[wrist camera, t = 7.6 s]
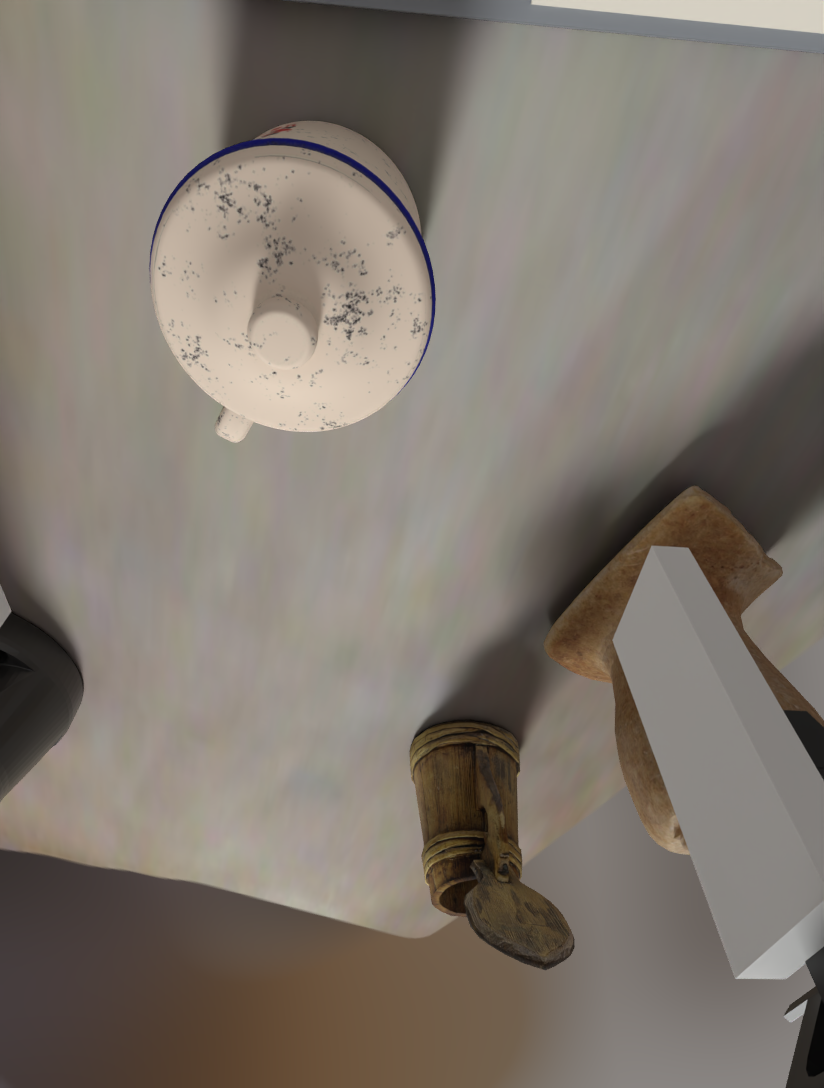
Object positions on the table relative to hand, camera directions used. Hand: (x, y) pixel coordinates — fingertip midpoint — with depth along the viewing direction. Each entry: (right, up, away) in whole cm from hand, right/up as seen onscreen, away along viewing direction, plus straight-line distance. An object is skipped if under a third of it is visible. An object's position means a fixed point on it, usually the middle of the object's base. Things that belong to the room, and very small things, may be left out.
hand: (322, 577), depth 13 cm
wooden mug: (+7, -14, +37) cm, 40 cm away
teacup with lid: (-3, +13, +15) cm, 20 cm away
